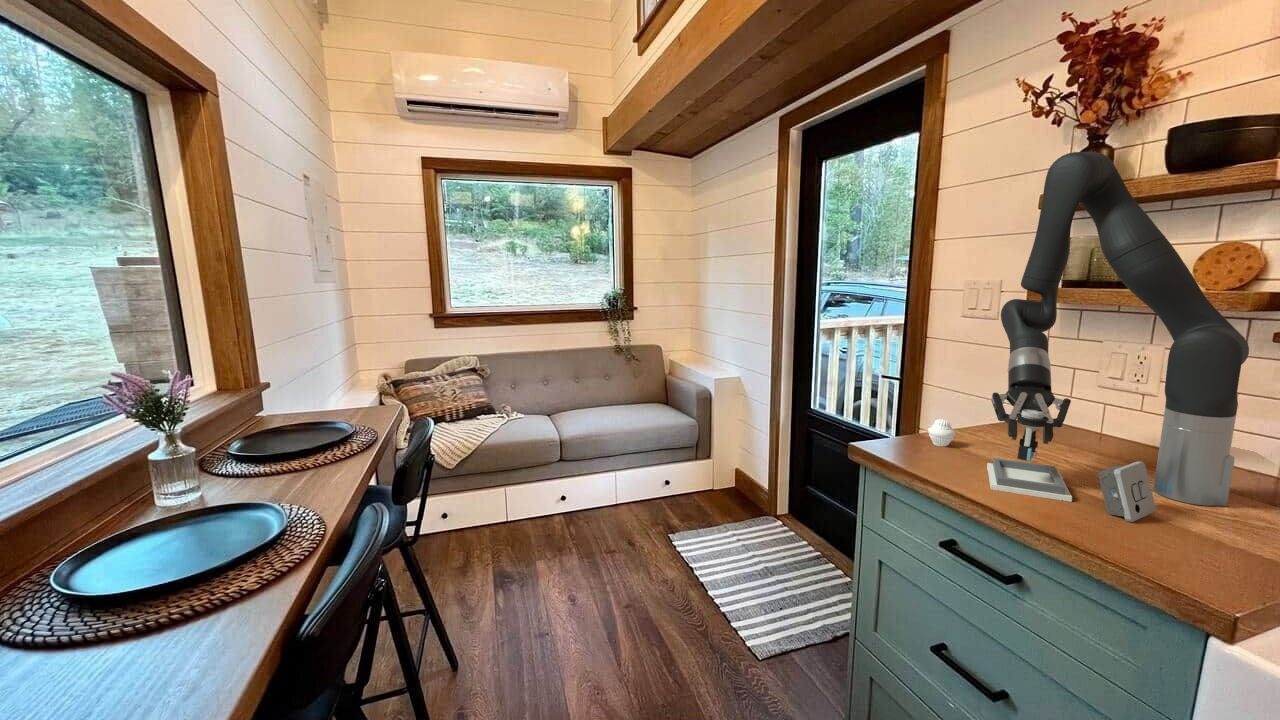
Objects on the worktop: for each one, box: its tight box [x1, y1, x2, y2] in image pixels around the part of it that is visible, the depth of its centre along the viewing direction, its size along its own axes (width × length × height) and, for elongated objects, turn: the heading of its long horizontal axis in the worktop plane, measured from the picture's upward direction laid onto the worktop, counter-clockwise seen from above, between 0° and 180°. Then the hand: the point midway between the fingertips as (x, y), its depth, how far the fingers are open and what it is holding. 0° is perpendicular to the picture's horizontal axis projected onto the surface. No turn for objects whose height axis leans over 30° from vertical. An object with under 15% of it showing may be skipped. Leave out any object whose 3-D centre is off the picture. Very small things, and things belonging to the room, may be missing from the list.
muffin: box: [927, 418, 956, 448], centre depth 133 cm, size 6×6×7 cm
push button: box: [1016, 409, 1048, 462], centre depth 107 cm, size 7×5×10 cm
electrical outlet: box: [1097, 461, 1157, 523], centre depth 95 cm, size 9×5×9 cm, turn 116°
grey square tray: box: [986, 457, 1073, 503], centre depth 109 cm, size 13×14×2 cm
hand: (1030, 439), depth 106 cm, fingers closed on push button, 4 cm apart
